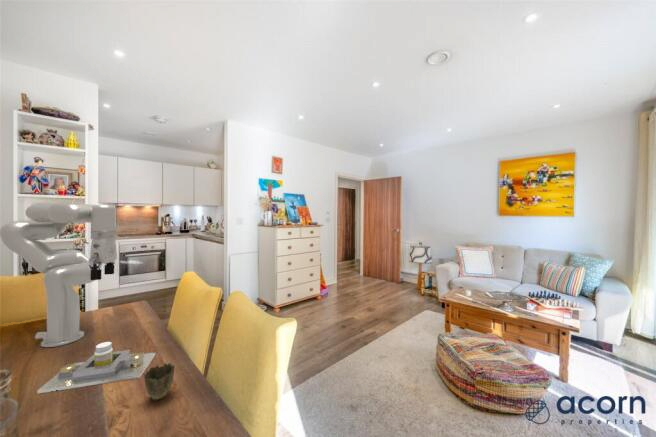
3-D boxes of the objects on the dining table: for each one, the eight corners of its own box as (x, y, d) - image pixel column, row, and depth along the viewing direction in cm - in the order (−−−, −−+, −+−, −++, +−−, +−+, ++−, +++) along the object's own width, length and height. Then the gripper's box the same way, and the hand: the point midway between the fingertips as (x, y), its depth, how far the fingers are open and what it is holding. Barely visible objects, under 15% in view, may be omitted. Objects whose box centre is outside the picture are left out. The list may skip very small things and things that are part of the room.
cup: (141, 410, 68) (141, 381, 68) (146, 393, 75) (146, 366, 75) (173, 401, 72) (173, 373, 72) (175, 385, 78) (175, 360, 78)
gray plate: (37, 393, 74) (37, 379, 74) (69, 366, 87) (69, 354, 87) (140, 377, 82) (140, 364, 82) (155, 355, 95) (155, 344, 95)
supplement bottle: (102, 365, 87) (102, 341, 87) (116, 364, 87) (116, 340, 87) (90, 373, 82) (90, 348, 82) (105, 373, 82) (105, 348, 82)
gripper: (102, 236, 94) (102, 281, 94) (124, 233, 111) (124, 271, 111) (77, 236, 92) (77, 282, 92) (103, 233, 108) (103, 272, 108)
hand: (102, 276), depth 101 cm, fingers open, 9 cm apart
